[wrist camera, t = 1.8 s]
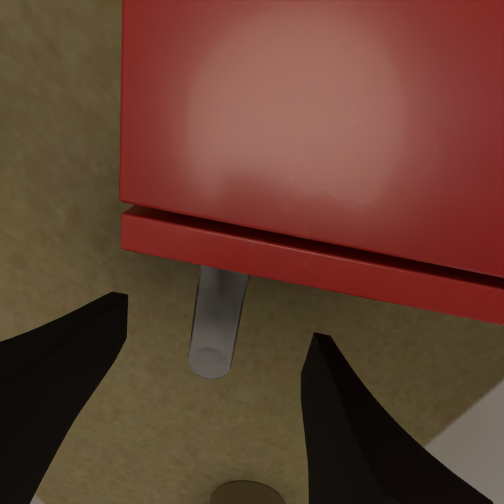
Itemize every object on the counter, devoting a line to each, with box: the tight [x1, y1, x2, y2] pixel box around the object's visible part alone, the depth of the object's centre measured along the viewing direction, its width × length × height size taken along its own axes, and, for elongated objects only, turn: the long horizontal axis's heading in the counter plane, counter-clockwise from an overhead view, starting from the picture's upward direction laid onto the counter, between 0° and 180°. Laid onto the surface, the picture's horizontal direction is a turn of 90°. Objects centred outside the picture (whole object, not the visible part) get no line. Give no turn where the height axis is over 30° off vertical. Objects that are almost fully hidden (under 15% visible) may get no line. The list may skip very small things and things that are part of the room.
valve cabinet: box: [119, 0, 504, 278], centre depth 9 cm, size 10×13×11 cm
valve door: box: [121, 205, 504, 379], centre depth 12 cm, size 6×13×10 cm, turn 80°
